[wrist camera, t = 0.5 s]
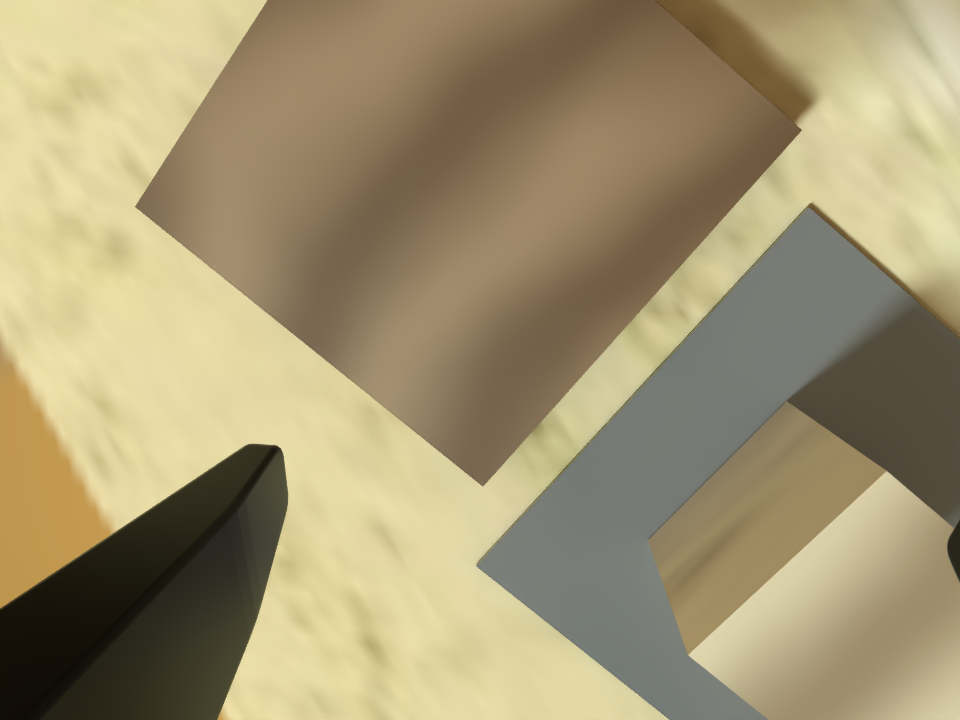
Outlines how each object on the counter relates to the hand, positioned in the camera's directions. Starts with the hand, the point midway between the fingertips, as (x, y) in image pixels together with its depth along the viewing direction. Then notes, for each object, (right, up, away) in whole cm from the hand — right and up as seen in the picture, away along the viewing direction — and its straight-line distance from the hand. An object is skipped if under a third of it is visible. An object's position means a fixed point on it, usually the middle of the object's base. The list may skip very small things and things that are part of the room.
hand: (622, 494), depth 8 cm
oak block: (+8, -4, +13) cm, 16 cm away
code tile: (+8, -4, +13) cm, 16 cm away
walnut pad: (-3, +8, +12) cm, 14 cm away
